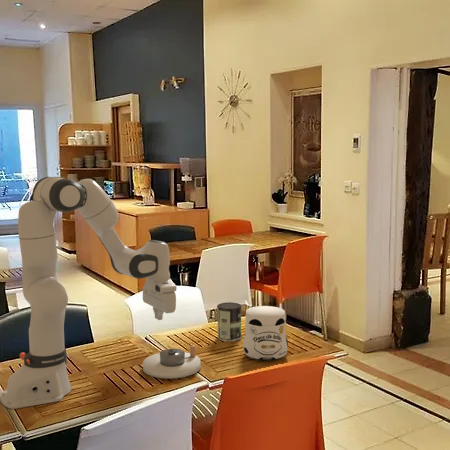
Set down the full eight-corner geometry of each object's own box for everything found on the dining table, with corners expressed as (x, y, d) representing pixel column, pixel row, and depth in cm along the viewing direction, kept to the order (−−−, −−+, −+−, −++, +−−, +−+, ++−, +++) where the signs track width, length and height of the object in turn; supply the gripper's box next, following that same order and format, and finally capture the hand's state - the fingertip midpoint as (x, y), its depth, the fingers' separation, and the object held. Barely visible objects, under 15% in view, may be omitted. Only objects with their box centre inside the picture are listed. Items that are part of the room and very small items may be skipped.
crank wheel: (159, 383, 196) (159, 366, 196) (133, 364, 214) (132, 348, 213) (211, 369, 208) (211, 353, 207) (182, 352, 225) (182, 337, 224)
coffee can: (241, 333, 250) (241, 302, 248) (241, 341, 240) (241, 308, 238) (217, 333, 250) (217, 302, 248) (216, 341, 240) (216, 308, 238)
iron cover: (167, 368, 204) (167, 356, 203) (155, 361, 211) (155, 349, 211) (189, 363, 209) (189, 351, 208) (177, 355, 216) (176, 344, 216)
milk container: (264, 368, 211) (264, 321, 209) (233, 355, 224) (233, 310, 222) (297, 357, 222) (297, 312, 219) (266, 345, 235) (266, 302, 233)
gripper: (138, 278, 221) (138, 313, 223) (163, 289, 205) (163, 327, 206) (152, 276, 225) (153, 311, 227) (178, 287, 208) (179, 324, 210)
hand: (158, 319), depth 216 cm, fingers closed
